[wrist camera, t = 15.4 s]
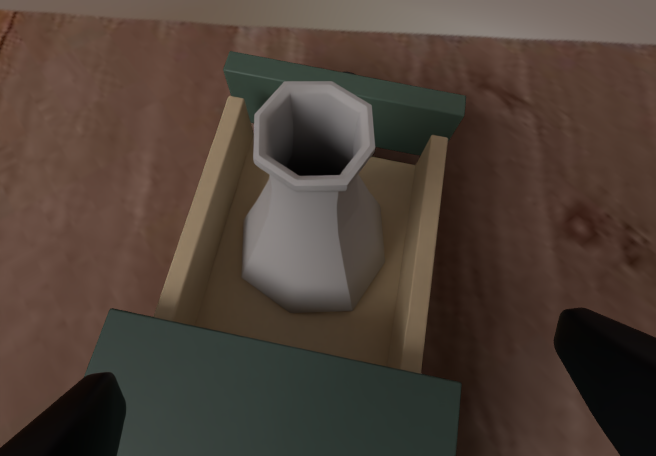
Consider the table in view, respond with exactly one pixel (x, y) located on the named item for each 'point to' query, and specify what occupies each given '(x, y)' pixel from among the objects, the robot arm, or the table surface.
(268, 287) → the flask
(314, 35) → the table surface
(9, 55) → the table surface
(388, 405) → the cabinet
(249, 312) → the drawer
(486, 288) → the table surface
